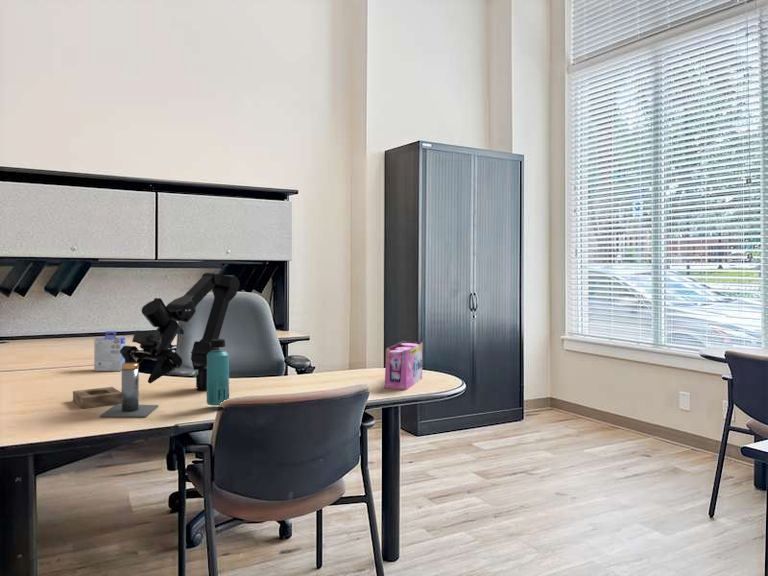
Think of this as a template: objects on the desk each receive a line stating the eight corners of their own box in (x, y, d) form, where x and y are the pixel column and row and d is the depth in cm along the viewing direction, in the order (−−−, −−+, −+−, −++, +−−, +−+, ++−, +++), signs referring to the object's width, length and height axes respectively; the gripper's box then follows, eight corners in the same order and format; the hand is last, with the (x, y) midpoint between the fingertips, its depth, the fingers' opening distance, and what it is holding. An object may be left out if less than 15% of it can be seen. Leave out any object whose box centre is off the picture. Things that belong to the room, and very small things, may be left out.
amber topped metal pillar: (136, 407, 175) (136, 361, 175) (140, 410, 171) (140, 364, 171) (120, 409, 173) (120, 362, 172) (123, 412, 169) (123, 365, 168)
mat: (158, 406, 179) (158, 404, 178) (145, 417, 167) (145, 415, 167) (115, 406, 178) (115, 404, 178) (99, 417, 166) (99, 415, 166)
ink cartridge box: (126, 368, 236) (126, 331, 235) (121, 371, 231) (121, 332, 230) (99, 368, 235) (99, 330, 234) (93, 371, 230) (93, 332, 229)
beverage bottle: (217, 412, 174) (217, 341, 173) (200, 408, 178) (201, 339, 177) (234, 407, 180) (234, 338, 179) (218, 404, 183) (218, 337, 182)
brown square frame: (112, 396, 190) (112, 386, 190) (122, 403, 182) (122, 393, 182) (73, 401, 183) (72, 391, 183) (82, 408, 175) (82, 398, 175)
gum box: (405, 391, 207) (406, 350, 206) (382, 389, 209) (383, 349, 209) (422, 378, 230) (423, 341, 229) (402, 376, 232) (402, 340, 231)
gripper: (124, 318, 181) (94, 361, 172) (175, 321, 174) (147, 367, 165) (144, 341, 189) (116, 384, 179) (193, 345, 182) (167, 390, 172)
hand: (135, 381), depth 174 cm, fingers open, 9 cm apart
